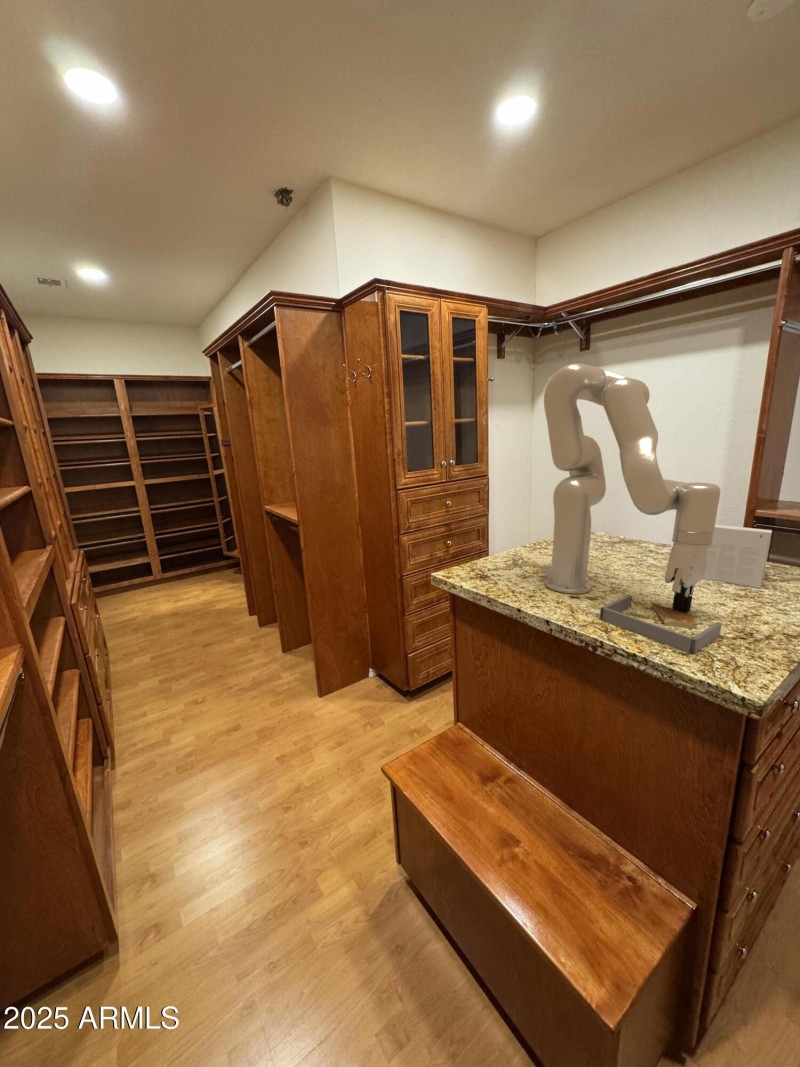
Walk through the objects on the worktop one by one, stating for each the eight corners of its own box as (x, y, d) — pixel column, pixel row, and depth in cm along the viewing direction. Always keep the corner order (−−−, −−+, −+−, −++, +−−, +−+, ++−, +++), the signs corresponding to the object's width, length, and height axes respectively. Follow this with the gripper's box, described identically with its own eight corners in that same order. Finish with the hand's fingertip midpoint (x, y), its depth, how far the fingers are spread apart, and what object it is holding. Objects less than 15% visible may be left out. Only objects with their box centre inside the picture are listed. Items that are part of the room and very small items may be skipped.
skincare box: (762, 583, 116) (773, 529, 112) (761, 589, 112) (772, 533, 109) (674, 568, 130) (682, 520, 126) (671, 573, 126) (678, 523, 123)
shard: (650, 607, 103) (651, 601, 103) (685, 611, 101) (686, 604, 101) (663, 626, 93) (664, 619, 93) (702, 630, 91) (703, 623, 90)
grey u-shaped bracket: (599, 619, 97) (600, 607, 96) (627, 605, 104) (629, 594, 103) (693, 654, 81) (695, 640, 80) (719, 635, 88) (721, 623, 87)
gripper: (687, 529, 101) (677, 598, 105) (659, 539, 93) (649, 613, 97) (724, 534, 95) (711, 607, 99) (697, 545, 87) (685, 624, 91)
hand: (680, 610), depth 98 cm, fingers closed
